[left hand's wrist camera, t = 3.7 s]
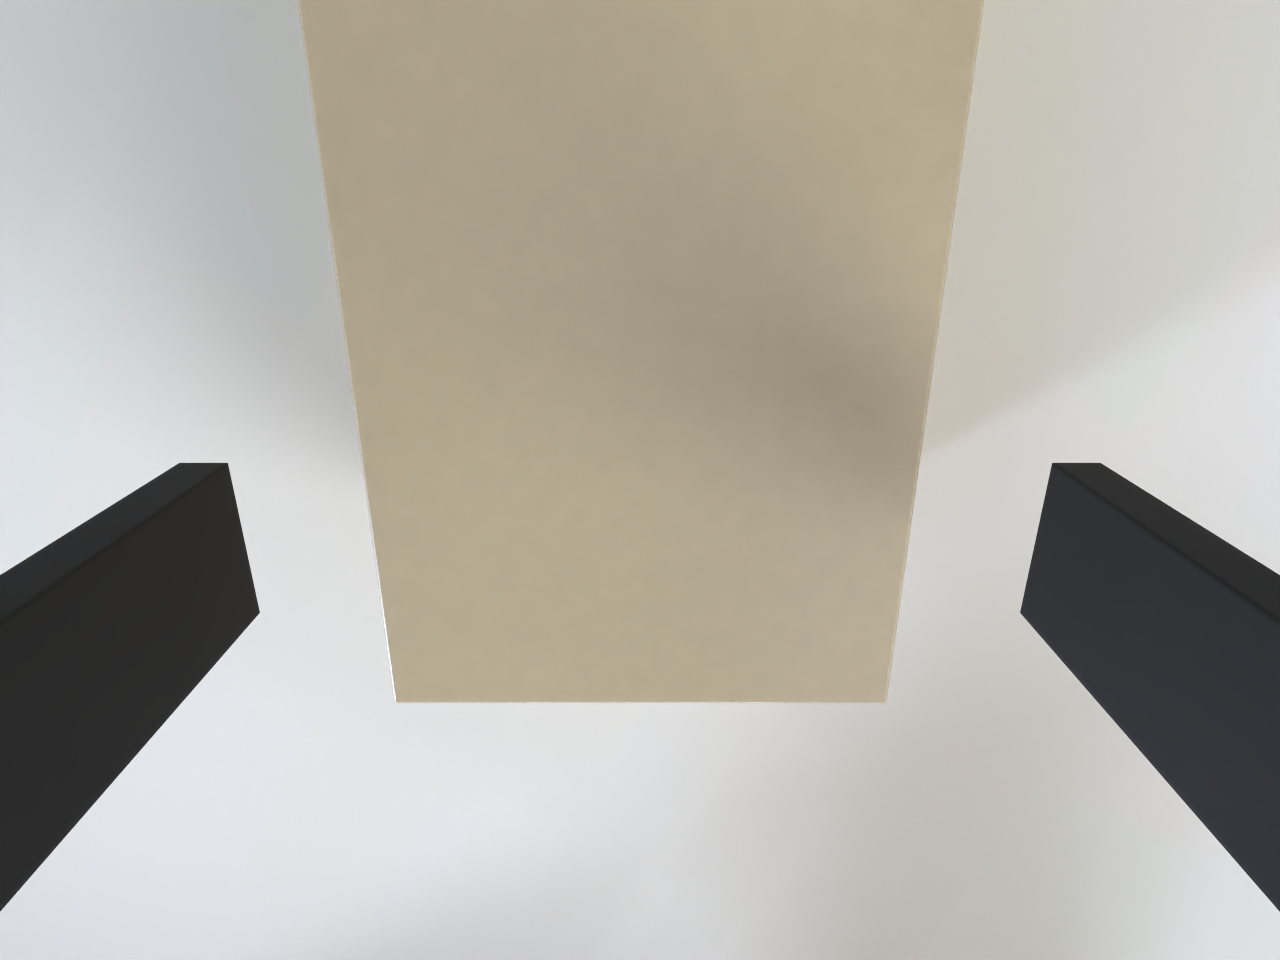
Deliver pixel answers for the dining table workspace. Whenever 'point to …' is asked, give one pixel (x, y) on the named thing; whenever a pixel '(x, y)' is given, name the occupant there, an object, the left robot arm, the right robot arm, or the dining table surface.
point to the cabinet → (640, 332)
